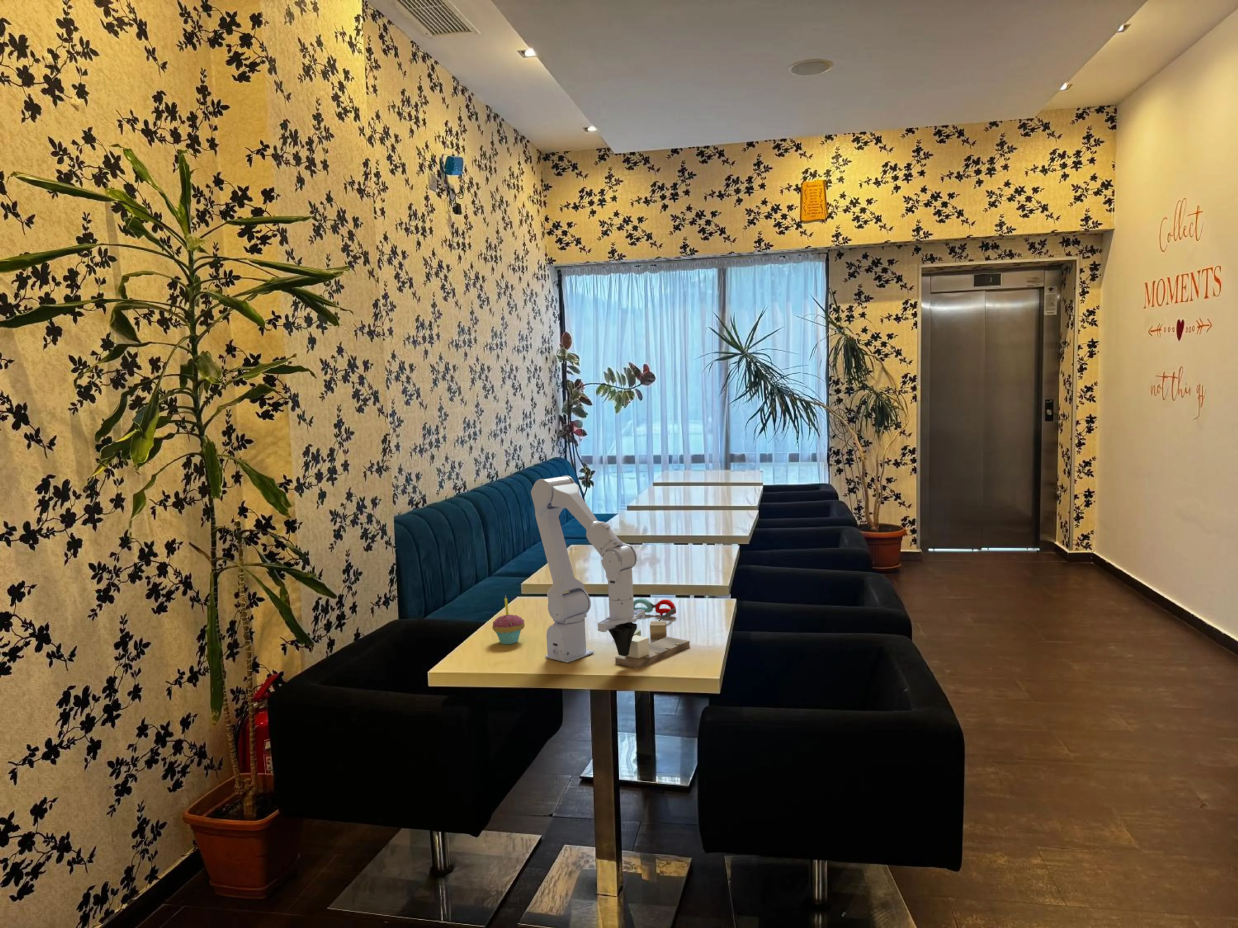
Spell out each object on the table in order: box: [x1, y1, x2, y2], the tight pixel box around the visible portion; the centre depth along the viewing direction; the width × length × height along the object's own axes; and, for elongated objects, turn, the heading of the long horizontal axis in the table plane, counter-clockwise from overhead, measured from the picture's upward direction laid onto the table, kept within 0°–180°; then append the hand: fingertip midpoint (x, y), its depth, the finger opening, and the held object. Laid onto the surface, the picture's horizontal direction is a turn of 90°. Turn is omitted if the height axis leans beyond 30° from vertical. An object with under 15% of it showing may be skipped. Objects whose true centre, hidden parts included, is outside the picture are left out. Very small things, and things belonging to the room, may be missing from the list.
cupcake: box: [491, 595, 526, 645], centre depth 222 cm, size 9×8×12 cm
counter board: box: [614, 636, 691, 669], centre depth 206 cm, size 20×7×2 cm, turn 139°
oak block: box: [649, 620, 668, 641], centre depth 220 cm, size 4×4×4 cm
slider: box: [627, 635, 650, 659], centre depth 201 cm, size 4×4×4 cm
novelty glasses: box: [633, 597, 677, 621], centre depth 237 cm, size 14×15×5 cm
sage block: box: [633, 629, 642, 636], centre depth 213 cm, size 4×4×4 cm
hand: (623, 654), depth 197 cm, fingers closed
